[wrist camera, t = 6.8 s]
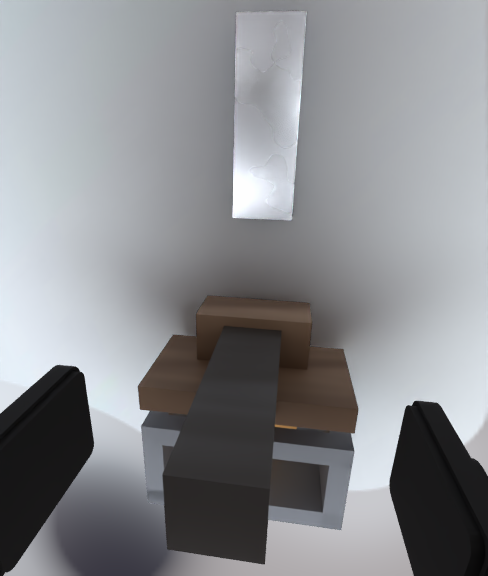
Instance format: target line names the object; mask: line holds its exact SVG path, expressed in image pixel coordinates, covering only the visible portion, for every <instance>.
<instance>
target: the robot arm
mask: <svg viewBox="0 0 488 576" xmlns="http://www.w3.org/2000/svg"><path fill="white" fill-rule="evenodd" d="M93 447H94V440H93V433H92V426H91V419H90V412H89V405H88V398H87V392H86V385H85V378H84V374H83V373H82V372H80V371H79V369H78V368H77V367H74V366H64V365H56V366H55V367H53V368H52V369H51V370H50V371H49V372H47V373H46V374H45V375H44V376H43V377H42V378H41V379H39V380H38V381H37V382H36V383H35V384H34V385H33V386H31V387H30V388H29V389H28V390H27V391H26V392H25V393H23V394H22V395H21V396H20V397H19V398H18V399H17V400H15V402H13V403H12V404H11V405H10V406H9V407H7V408H6V409H5V410H4V411H3V412H2V413H1V414H0V576H3V575H4V573H5V572H9V571H11V570H12V569H13V568H14V567H15V565H16V564H17V563H18V561H19V560H20V558H21V557H22V555H23V553H24V552H25V551H26V549H27V548H28V546H29V545H30V543H31V542H32V541H33V539H34V538H35V536H36V535H37V533H38V532H39V530H40V529H41V527H42V526H43V524H44V523H45V522H46V520H47V519H48V517H49V516H50V514H51V513H52V511H53V510H54V508H55V507H56V505H57V504H58V502H59V501H60V500H61V498H62V497H63V495H64V494H65V492H66V491H67V489H68V488H69V486H70V485H71V483H72V482H73V480H74V479H75V478H76V476H77V474H78V473H79V472H80V470H81V469H82V467H83V466H84V464H85V463H86V461H87V460H88V458H89V457H90V455H91V454H92V451H93ZM390 493H391V497H392V501H393V504H394V508H395V511H396V515H397V518H398V522H399V525H400V529H401V532H402V536H403V539H404V543H405V546H406V550H407V553H408V557H409V560H410V564H411V567H412V571H413V574H414V576H488V476H487V474H486V472H485V471H484V469H483V467H482V466H481V465H480V463H479V462H478V461H477V460H475V459H472V458H471V457H470V455H469V454H468V452H467V450H466V449H465V447H464V445H463V443H462V442H461V440H460V438H459V437H458V435H457V433H456V431H455V430H454V428H453V426H452V425H451V423H450V421H449V420H448V418H447V416H446V414H445V413H444V411H443V409H442V408H441V406H440V405H439V404H438V403H434V402H424V401H414V403H413V405H412V406H409V405H408V406H406V408H405V412H404V417H403V422H402V426H401V431H400V435H399V440H398V444H397V449H396V454H395V458H394V463H393V467H392V472H391V476H390Z"/></svg>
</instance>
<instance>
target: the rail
mask: <svg viewBox="0 0 488 576" xmlns="http://www.w3.org/2000/svg"><path fill="white" fill-rule="evenodd" d="M306 17H307V11H254V12H236V43H235V105H234V167H233V218H249V219H269V220H290V221H292V211H293V198H294V184H295V170H296V156H297V142H298V128H299V114H300V100H301V87H302V73H303V59H304V45H305V31H306Z"/></svg>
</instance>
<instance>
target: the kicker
mask: <svg viewBox="0 0 488 576" xmlns="http://www.w3.org/2000/svg"><path fill="white" fill-rule="evenodd" d="M311 329H312V318H311V309H310V303H303V302H290V301H276V300H263V299H249V298H235V297H222V296H207V297H206V299H205V301H204V302H203V304H202V305H201V307H200V309H199V310H198V312H197V313H196V336H197V337H196V336H184V335H173V336H172V337H171V338H170V340H169V341H168V343H167V344H166V346H165V347H164V349H163V350H162V352H161V353H160V355H159V356H158V358H157V359H156V360H155V362H154V363H153V365H152V366H151V368H150V369H149V371H148V372H147V374H146V375H145V377H144V378H143V380H142V381H141V382H140V384H139V385H138V392H139V404H140V410H149V411H158V412H167V413H176V414H185V415H187V417H186V419H185V421H184V424H183V426H182V429H181V431H180V433H179V436H178V438H177V441H176V443H175V445H174V448H173V450H172V453H171V455H170V458H169V460H168V462H167V465H166V467H165V470H164V472H163V474H162V478H163V493H164V508H165V523H166V538H167V549H169V550H175V551H182V552H188V553H194V554H201V555H207V556H214V557H220V558H226V559H233V560H240V561H246V562H252V563H258V564H265V554H266V541H267V527H268V513H269V499H270V485H271V472H272V458H273V444H274V430H275V425H283V426H292V427H301V428H310V429H319V430H328V431H337V432H346V433H355V427H356V421H357V415H358V406H357V402H356V398H355V394H354V390H353V386H352V382H351V378H350V374H349V370H348V366H347V362H346V358H345V354H344V350H343V349H334V348H323V347H311V346H310V339H311Z"/></svg>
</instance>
